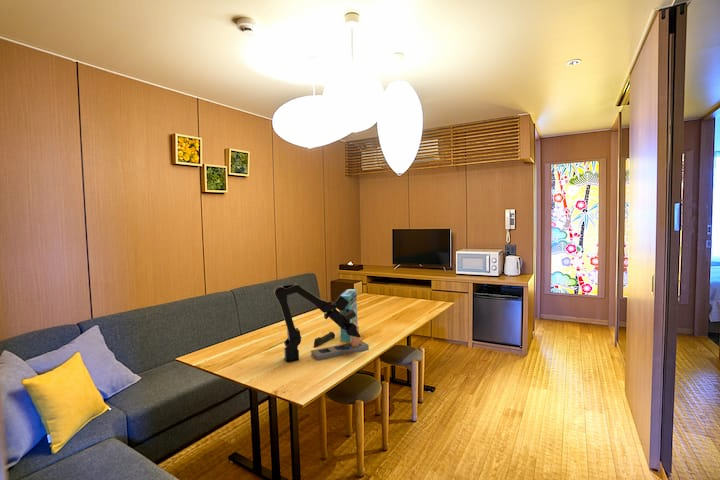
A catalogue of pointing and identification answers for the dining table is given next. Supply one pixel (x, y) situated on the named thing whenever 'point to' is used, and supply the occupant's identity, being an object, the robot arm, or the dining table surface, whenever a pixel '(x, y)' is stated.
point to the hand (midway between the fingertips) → (357, 334)
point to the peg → (355, 339)
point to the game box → (352, 299)
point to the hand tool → (323, 339)
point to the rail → (338, 350)
